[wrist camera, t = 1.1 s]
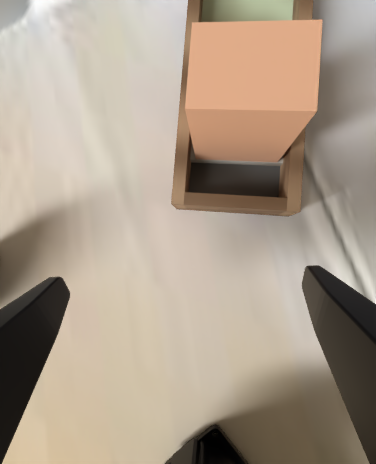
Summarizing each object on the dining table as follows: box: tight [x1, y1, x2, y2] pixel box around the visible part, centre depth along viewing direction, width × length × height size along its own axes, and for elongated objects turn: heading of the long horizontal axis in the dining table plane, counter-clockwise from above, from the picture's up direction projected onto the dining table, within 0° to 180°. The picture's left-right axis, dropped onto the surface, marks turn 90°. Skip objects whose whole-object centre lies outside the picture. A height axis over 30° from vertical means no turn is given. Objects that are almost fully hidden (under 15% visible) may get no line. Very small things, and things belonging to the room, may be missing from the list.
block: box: [185, 20, 322, 163], centre depth 17 cm, size 5×7×8 cm
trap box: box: [171, 0, 313, 216], centre depth 21 cm, size 20×10×3 cm, turn 176°
